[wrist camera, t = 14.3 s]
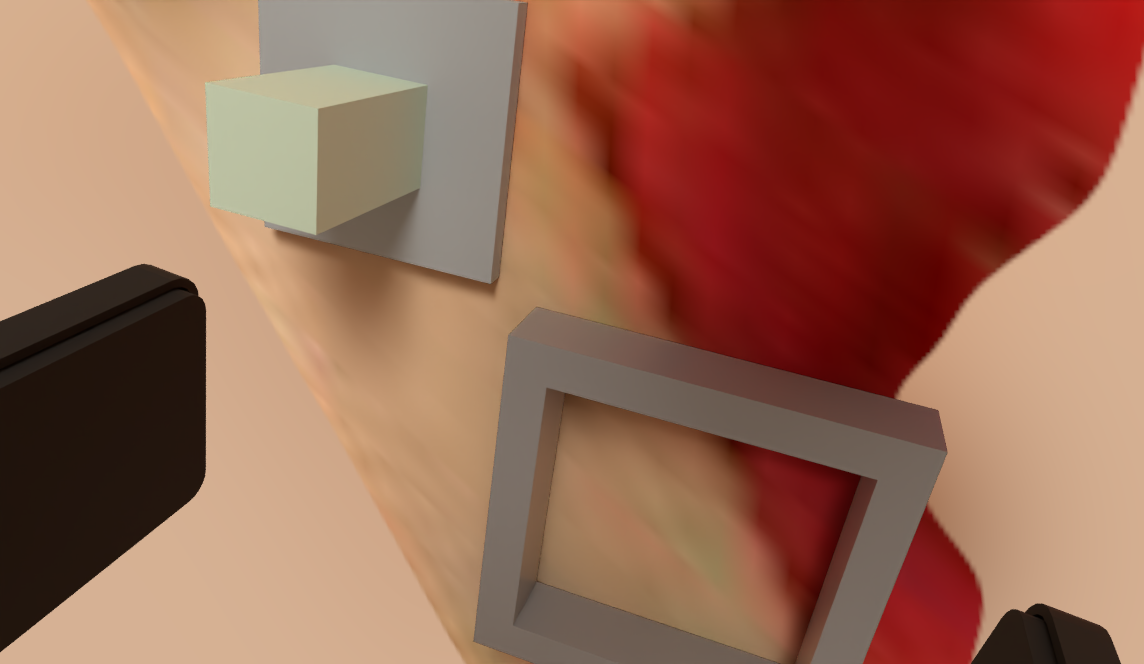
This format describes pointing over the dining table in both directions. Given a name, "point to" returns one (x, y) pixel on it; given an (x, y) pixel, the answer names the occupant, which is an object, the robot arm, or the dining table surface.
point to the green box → (313, 144)
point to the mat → (452, 123)
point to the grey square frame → (711, 404)
